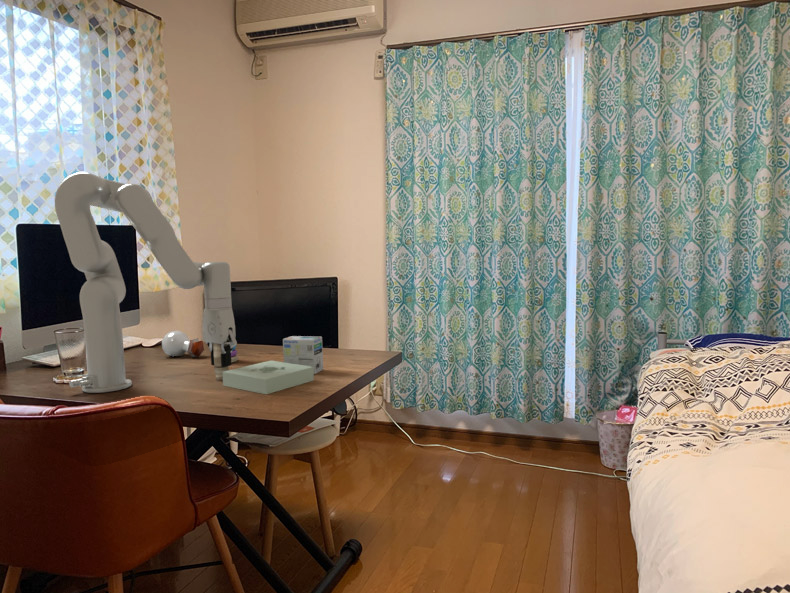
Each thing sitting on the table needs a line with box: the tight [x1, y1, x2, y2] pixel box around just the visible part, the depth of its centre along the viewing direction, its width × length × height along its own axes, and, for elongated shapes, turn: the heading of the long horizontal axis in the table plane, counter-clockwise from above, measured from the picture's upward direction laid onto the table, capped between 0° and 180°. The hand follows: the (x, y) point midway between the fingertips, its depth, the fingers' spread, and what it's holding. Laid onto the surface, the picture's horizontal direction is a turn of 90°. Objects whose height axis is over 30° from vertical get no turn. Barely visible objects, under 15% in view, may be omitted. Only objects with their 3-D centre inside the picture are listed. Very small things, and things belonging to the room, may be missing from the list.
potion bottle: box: [161, 330, 205, 358], centre depth 208 cm, size 9×10×15 cm
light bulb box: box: [282, 335, 324, 375], centre depth 179 cm, size 11×7×11 cm, turn 74°
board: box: [222, 360, 315, 395], centre depth 165 cm, size 18×18×4 cm
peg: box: [213, 341, 230, 381], centre depth 171 cm, size 4×4×12 cm
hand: (221, 364), depth 171 cm, fingers closed on peg, 4 cm apart
